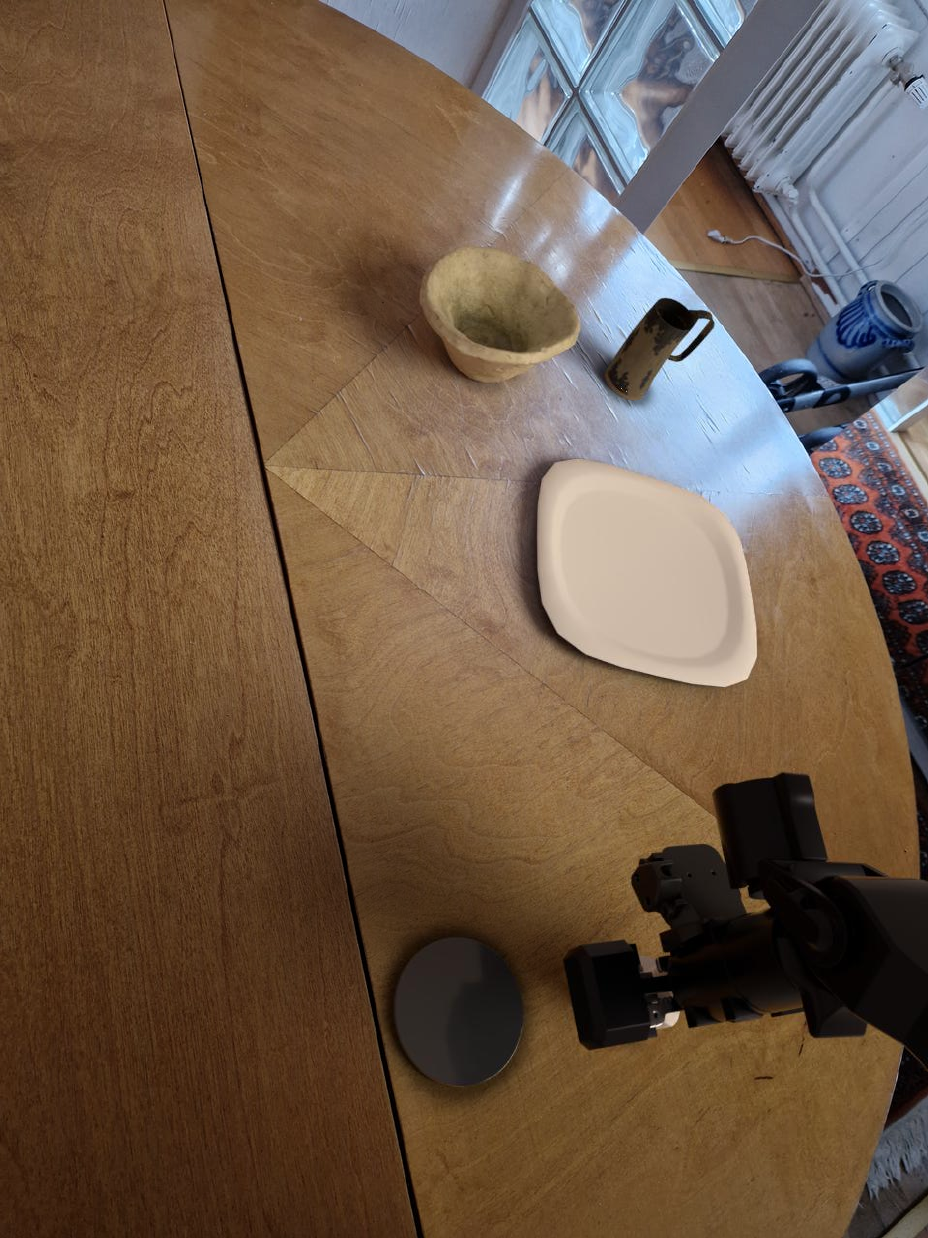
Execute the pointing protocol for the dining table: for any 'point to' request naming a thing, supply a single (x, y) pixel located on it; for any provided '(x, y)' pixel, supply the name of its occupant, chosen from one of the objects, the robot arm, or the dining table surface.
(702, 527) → the plate
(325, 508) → the dining table surface
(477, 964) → the coaster
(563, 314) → the bowl
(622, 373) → the mug
